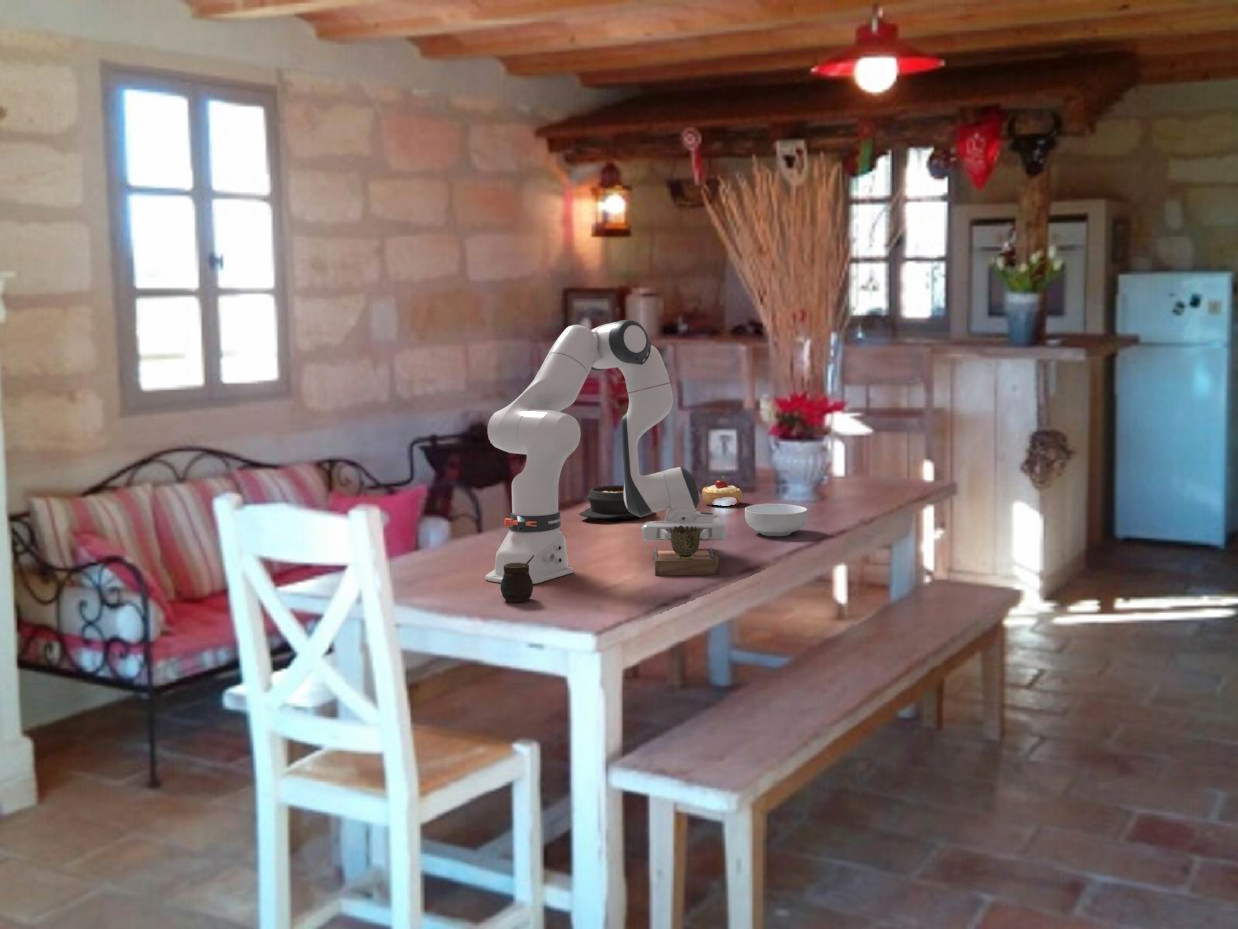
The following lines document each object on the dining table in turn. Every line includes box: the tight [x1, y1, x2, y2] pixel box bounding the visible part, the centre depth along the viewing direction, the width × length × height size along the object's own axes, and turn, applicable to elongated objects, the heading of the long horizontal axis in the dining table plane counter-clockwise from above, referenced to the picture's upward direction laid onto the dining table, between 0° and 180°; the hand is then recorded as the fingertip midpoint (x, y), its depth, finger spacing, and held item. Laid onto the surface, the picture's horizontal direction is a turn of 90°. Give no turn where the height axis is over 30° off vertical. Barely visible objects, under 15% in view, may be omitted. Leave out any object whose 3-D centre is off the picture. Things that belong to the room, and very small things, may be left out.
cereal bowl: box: [744, 503, 808, 537], centre depth 381 cm, size 17×17×7 cm
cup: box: [670, 526, 701, 560], centre depth 338 cm, size 8×7×8 cm
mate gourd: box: [499, 555, 534, 603], centre depth 308 cm, size 7×8×10 cm
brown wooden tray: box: [652, 547, 720, 576], centre depth 347 cm, size 32×15×4 cm, turn 179°
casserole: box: [578, 484, 638, 521], centre depth 411 cm, size 25×19×8 cm
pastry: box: [701, 474, 743, 506], centre depth 430 cm, size 12×12×9 cm
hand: (684, 536), depth 336 cm, fingers closed on cup, 7 cm apart
